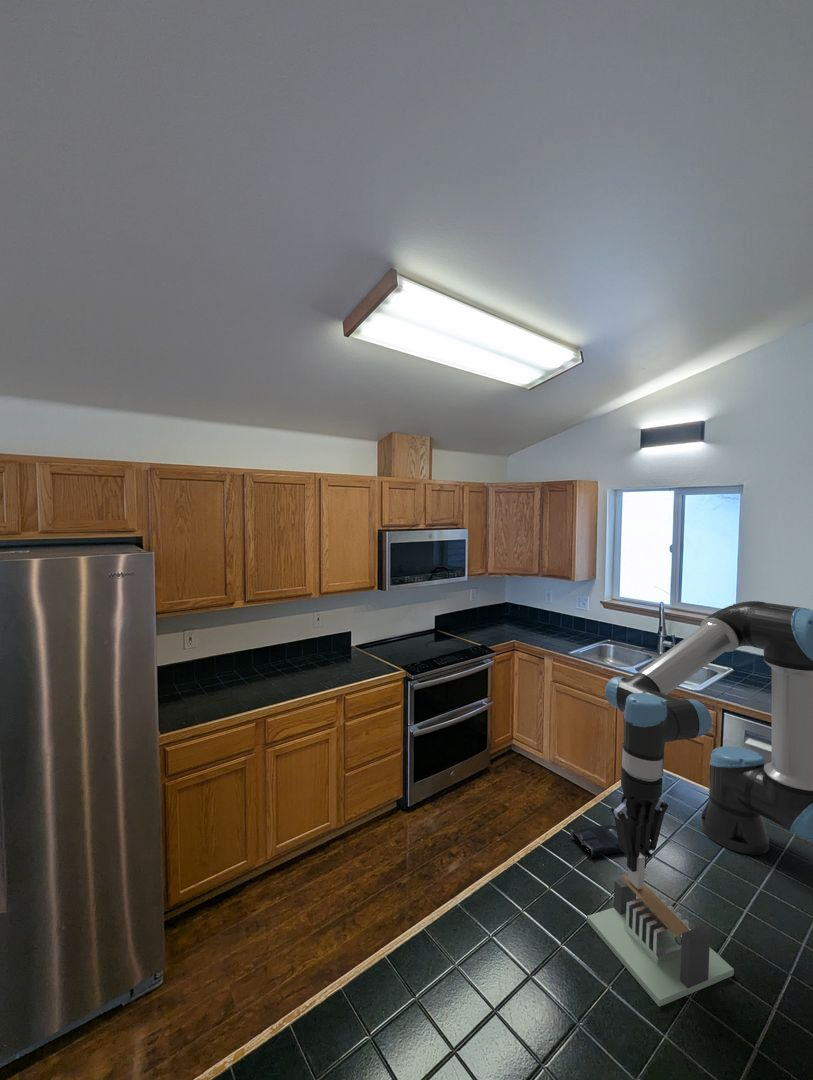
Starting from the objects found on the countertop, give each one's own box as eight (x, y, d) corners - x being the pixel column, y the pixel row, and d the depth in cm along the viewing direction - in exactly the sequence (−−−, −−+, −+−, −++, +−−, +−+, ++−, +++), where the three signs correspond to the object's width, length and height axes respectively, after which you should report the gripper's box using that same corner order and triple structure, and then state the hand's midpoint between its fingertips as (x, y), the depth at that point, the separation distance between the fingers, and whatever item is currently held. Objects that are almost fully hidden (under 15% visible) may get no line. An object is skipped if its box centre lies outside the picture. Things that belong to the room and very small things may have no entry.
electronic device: (594, 869, 114) (643, 850, 118) (590, 846, 114) (639, 828, 118) (571, 849, 123) (617, 831, 127) (567, 827, 123) (613, 811, 127)
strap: (635, 876, 99) (636, 871, 98) (698, 940, 85) (699, 934, 85) (619, 881, 97) (619, 876, 97) (680, 947, 83) (681, 941, 83)
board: (653, 900, 103) (654, 856, 102) (733, 975, 86) (735, 923, 85) (586, 921, 97) (588, 875, 96) (659, 1006, 80) (661, 951, 79)
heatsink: (654, 919, 96) (655, 891, 96) (689, 953, 89) (690, 923, 88) (624, 929, 94) (625, 901, 93) (657, 965, 86) (658, 934, 86)
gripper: (651, 758, 100) (645, 864, 101) (602, 767, 96) (597, 877, 97) (681, 777, 93) (675, 890, 94) (631, 787, 89) (624, 905, 90)
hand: (635, 883), depth 95 cm, fingers closed
